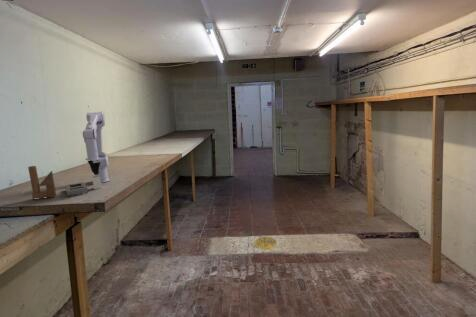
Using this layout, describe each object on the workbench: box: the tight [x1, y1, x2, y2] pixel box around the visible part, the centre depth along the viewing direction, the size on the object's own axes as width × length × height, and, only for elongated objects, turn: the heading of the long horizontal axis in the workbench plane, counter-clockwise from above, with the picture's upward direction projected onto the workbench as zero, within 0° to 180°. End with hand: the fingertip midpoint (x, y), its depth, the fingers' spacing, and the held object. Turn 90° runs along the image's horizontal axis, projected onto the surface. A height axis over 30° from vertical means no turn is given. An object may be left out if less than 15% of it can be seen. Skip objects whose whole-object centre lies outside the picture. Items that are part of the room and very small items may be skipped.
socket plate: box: [65, 181, 89, 197], centre depth 191 cm, size 16×10×3 cm, turn 31°
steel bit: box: [91, 175, 102, 190], centre depth 196 cm, size 4×4×7 cm
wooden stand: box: [27, 165, 57, 200], centre depth 181 cm, size 4×11×18 cm, turn 107°
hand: (95, 173), depth 194 cm, fingers open, 7 cm apart
